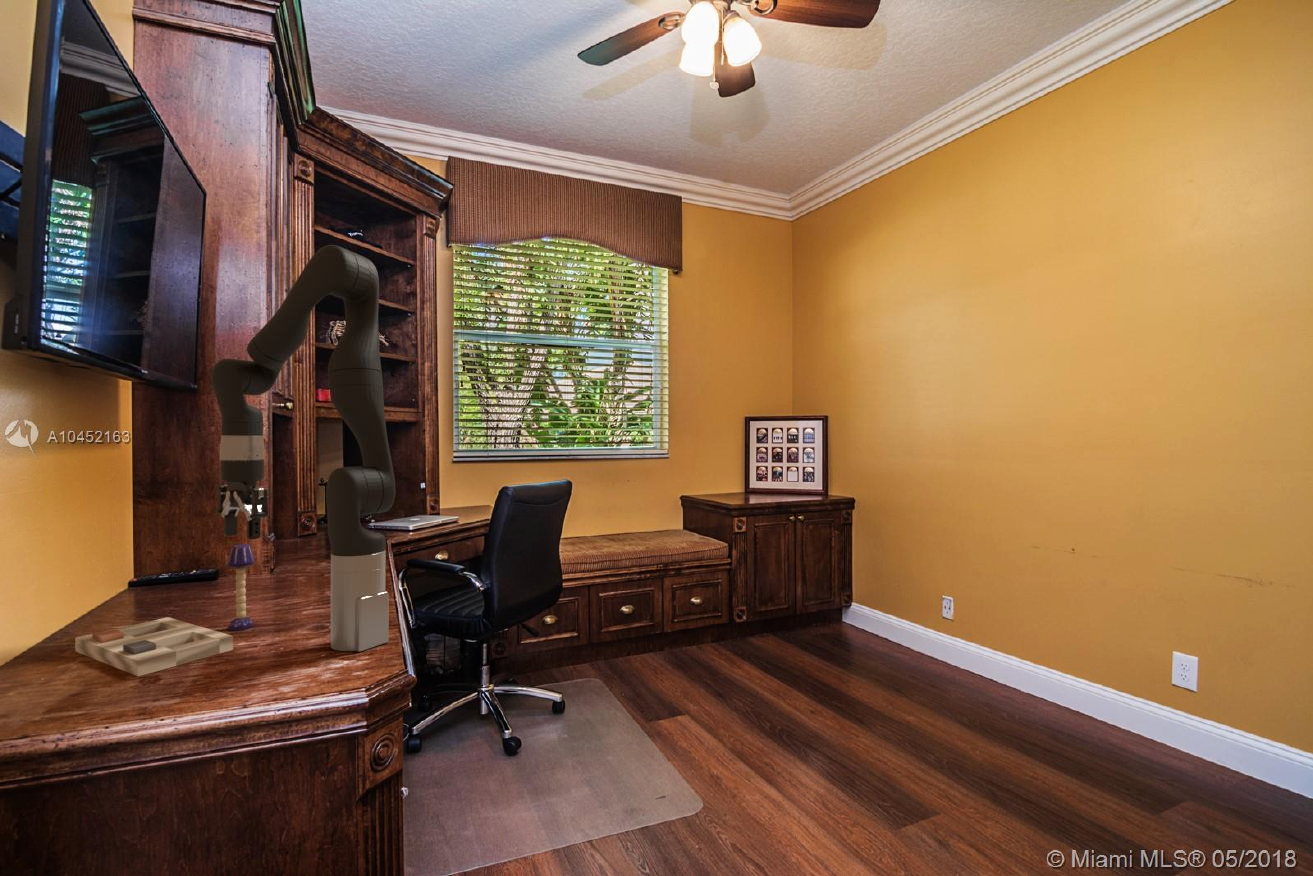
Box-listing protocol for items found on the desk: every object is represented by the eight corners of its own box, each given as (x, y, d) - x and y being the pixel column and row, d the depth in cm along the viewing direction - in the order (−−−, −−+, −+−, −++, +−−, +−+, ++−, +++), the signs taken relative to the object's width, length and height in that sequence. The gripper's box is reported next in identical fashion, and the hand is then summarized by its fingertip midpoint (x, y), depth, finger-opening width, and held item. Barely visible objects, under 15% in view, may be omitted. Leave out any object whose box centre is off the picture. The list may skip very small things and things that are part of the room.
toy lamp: (222, 628, 121) (222, 546, 121) (246, 622, 125) (247, 542, 125) (235, 632, 119) (235, 548, 119) (260, 625, 123) (260, 544, 123)
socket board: (233, 649, 109) (233, 630, 109) (138, 676, 96) (138, 654, 96) (167, 629, 120) (167, 612, 120) (75, 651, 108) (75, 632, 108)
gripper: (281, 458, 122) (281, 537, 122) (243, 456, 129) (242, 531, 129) (241, 459, 115) (241, 543, 115) (203, 457, 122) (202, 536, 122)
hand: (241, 537), depth 122 cm, fingers open, 8 cm apart
